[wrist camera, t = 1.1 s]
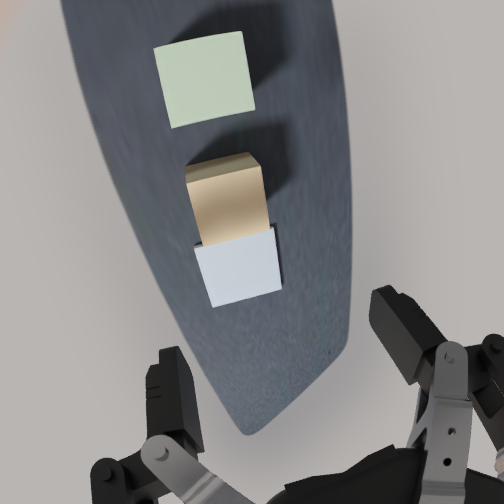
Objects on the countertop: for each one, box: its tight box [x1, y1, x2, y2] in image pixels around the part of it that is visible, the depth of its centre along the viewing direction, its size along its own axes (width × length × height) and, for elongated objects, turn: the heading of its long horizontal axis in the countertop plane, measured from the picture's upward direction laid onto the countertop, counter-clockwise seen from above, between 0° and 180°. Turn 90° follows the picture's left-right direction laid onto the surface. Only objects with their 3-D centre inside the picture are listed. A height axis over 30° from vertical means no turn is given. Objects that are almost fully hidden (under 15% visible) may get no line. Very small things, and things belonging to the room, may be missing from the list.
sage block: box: [154, 31, 255, 128], centre depth 18 cm, size 5×5×5 cm
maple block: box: [185, 152, 270, 247], centre depth 23 cm, size 5×5×4 cm
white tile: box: [194, 226, 282, 307], centre depth 29 cm, size 7×7×1 cm
